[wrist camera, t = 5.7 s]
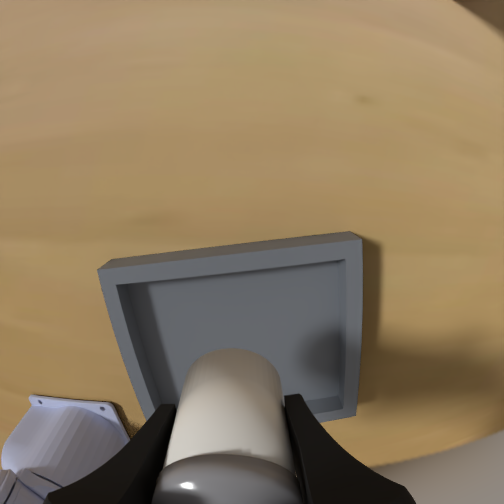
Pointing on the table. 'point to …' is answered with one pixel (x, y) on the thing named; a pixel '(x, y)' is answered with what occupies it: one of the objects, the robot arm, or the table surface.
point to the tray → (244, 315)
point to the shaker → (230, 436)
